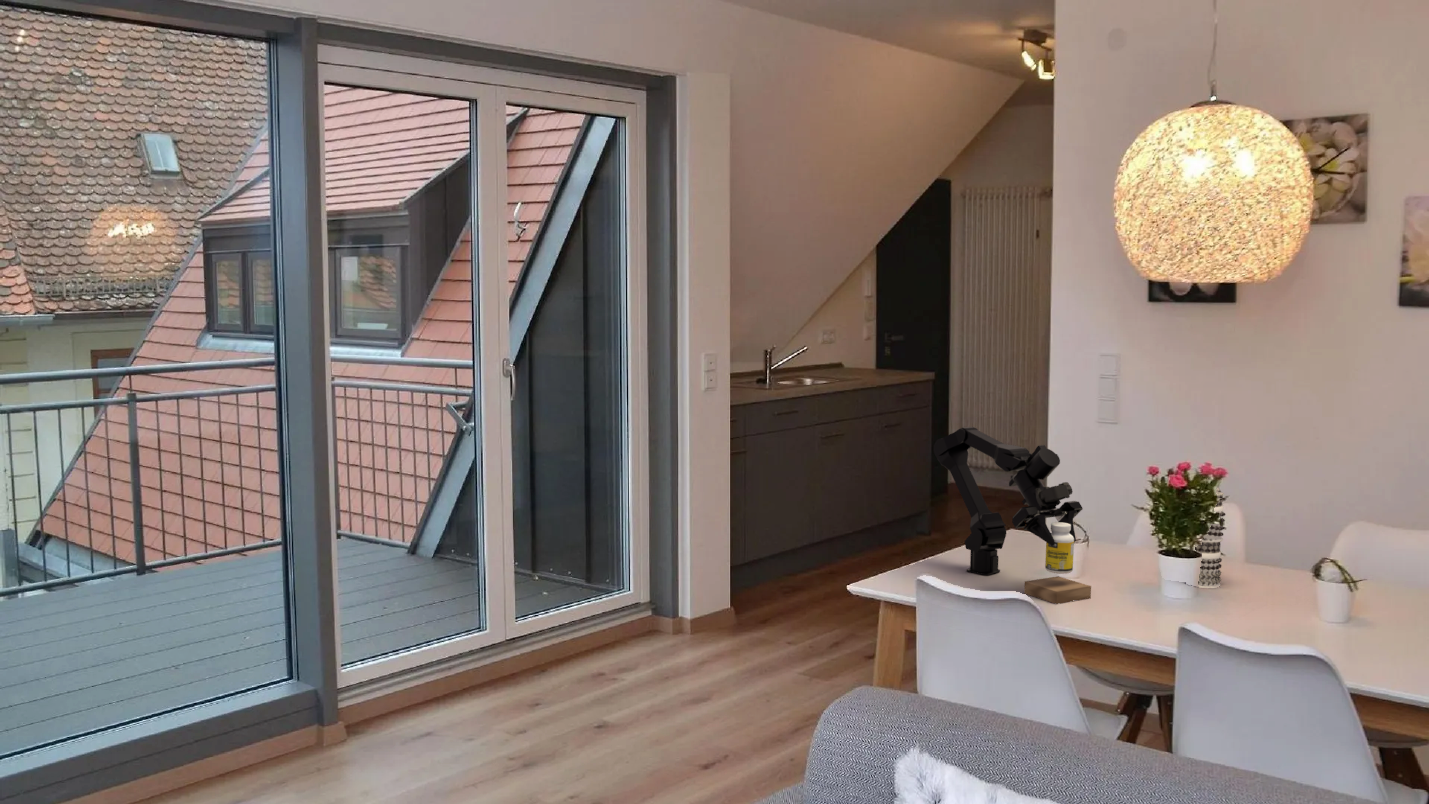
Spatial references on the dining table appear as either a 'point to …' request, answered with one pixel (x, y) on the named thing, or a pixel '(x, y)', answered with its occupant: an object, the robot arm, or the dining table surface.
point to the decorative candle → (1211, 551)
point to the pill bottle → (1060, 549)
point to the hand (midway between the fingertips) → (1064, 543)
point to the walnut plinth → (1057, 589)
